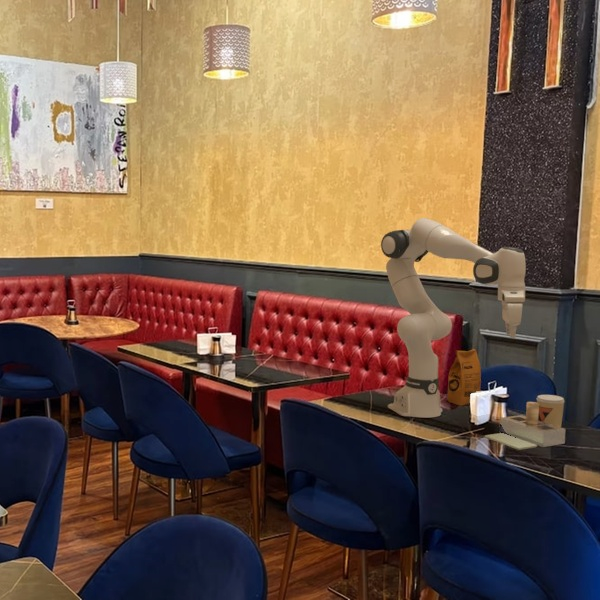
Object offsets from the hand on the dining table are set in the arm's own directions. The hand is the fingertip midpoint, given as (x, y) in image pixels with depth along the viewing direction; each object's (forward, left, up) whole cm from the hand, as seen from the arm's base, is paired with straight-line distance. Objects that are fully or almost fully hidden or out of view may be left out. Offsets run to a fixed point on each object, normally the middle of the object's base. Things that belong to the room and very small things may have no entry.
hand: (510, 336), depth 243 cm
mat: (+6, -4, -35) cm, 35 cm away
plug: (+5, +7, -35) cm, 36 cm away
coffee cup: (+1, +19, -35) cm, 40 cm away
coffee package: (-45, +19, -35) cm, 61 cm away
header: (+5, +7, -35) cm, 36 cm away
